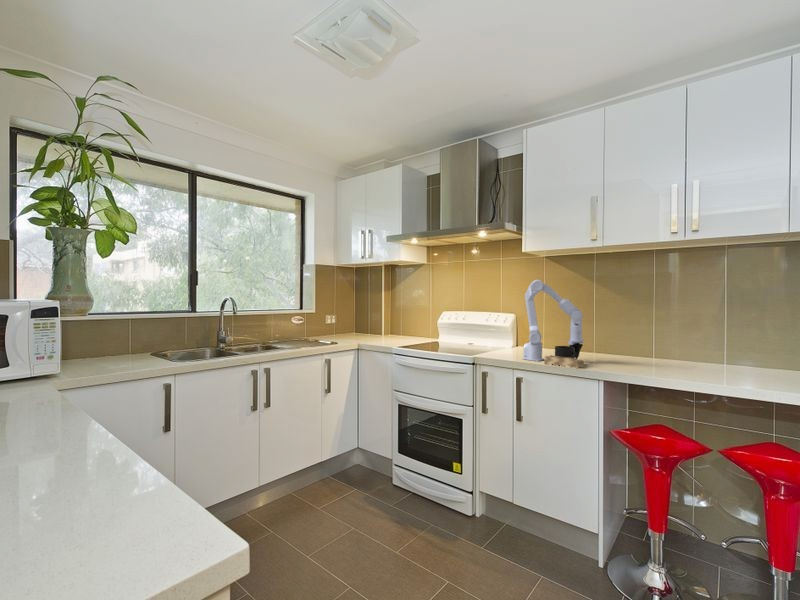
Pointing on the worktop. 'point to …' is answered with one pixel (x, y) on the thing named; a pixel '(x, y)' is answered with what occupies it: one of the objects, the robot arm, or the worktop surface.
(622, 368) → the worktop surface
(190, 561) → the worktop surface
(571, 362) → the brown lumpy block
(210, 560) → the worktop surface
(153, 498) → the worktop surface
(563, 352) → the mug
